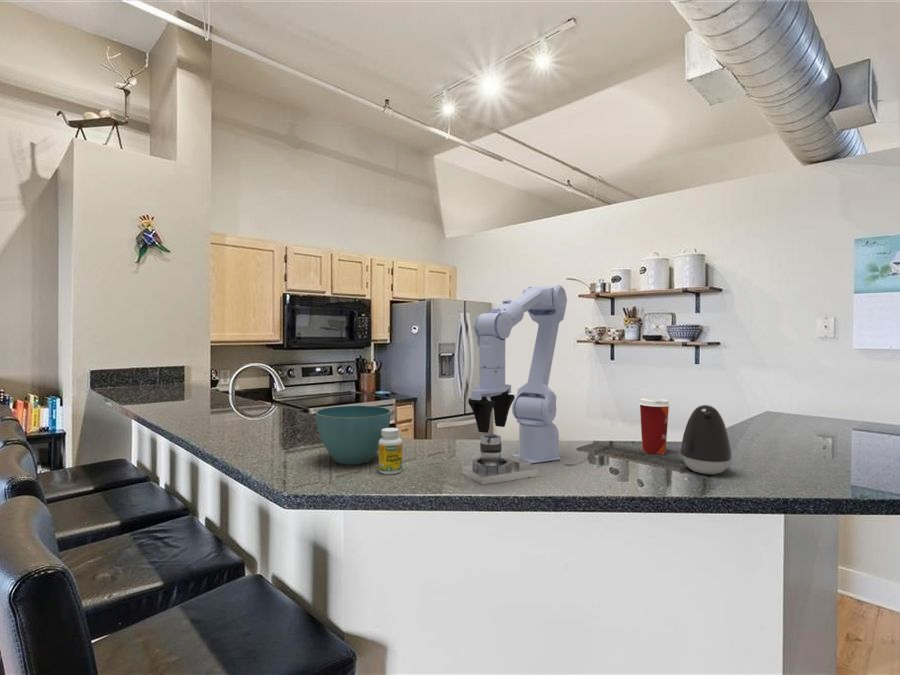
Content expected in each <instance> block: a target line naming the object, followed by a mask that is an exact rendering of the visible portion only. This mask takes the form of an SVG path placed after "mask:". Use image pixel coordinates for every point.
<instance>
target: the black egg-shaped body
mask: <svg viewBox="0 0 900 675" xmlns="http://www.w3.org/2000/svg"><path fill="white" fill-rule="evenodd" d="M680 446H681V447H680V454H681V455H682V460H683V462H684V464H685V465H686V467H688V469H690V470H691V471H693V472H695V473H697V472H698V474H702V475H708V476H709V475H718V474H721V473H723V472H724V471H725V470H727V468H728V466H729V464H730V461H731V460H732V449H731V442H730V437H729V435H728V431H727V428H726V424H725V421H724V419H723V418H722V415H721V414H720V412H719V411H718V410H717V409H716V407H715V406H711V405H708V404H702V405H699V406H697V407H696V408H695V409H694V410H693V411H692V412H691V414H690V416H689V418H688V421H687V422H686V426H685V429H684V432H683V436H682V440H681V445H680Z"/></svg>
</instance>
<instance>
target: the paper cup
mask: <svg viewBox="0 0 900 675" xmlns="http://www.w3.org/2000/svg"><path fill="white" fill-rule="evenodd" d="M638 405H639V412H640V430H641V431H640V432H641V448H642V452H643V453H644V452H645V454H649V455H654V454H662V455H664V454H663V453H665V454H666V450H667V440H668V439H667V438H668V425H669V424H668V423H669V421H668V420H669V412H670V410H669V408H670V406H671V405H670V403H669V399H665V398H658V397H657V398H656V397H642V398H640V400H639V402H638Z"/></svg>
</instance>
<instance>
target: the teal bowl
mask: <svg viewBox="0 0 900 675" xmlns="http://www.w3.org/2000/svg"><path fill="white" fill-rule="evenodd" d="M391 416H392V409H390V408H387V407H383V406H377V405H339V406H331V407H330V406H329V407H324V408H320V409H317V410H315V421H316V427H317V430H318V434H319V437H320V440H321V443H322V444H323V446H324V448H325V450H326V451H327V452H328V453H329V455H330V456H331V458H332V459H333V460H334V461H335V462H337V463H338V464H342V465H360V464H361V465H362V464H366V463H368V462H370V461H371V460H372V459H373V458H374V456H375V455H376V454H377V452H379V440H380V439H381V438H383V436H382V435H381V430H382V429H384V428H390V423H391V419H392V418H391ZM365 462H366V463H365Z"/></svg>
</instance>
